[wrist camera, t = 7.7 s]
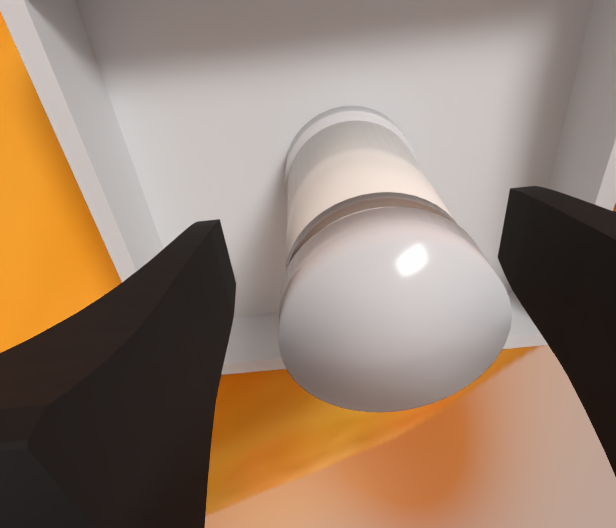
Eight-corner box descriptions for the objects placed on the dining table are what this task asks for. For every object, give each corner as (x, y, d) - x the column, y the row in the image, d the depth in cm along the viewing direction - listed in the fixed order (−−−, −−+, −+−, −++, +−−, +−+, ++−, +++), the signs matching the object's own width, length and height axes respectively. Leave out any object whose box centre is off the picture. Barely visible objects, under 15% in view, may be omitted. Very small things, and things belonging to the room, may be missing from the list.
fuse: (412, 98, 13) (533, 229, 6) (408, 218, 15) (493, 402, 9) (277, 113, 13) (260, 256, 7) (293, 230, 16) (293, 420, 9)
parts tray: (632, -114, 11) (732, -139, 8) (530, 292, 18) (567, 343, 16) (47, -37, 11) (-22, -39, 9) (182, 326, 19) (165, 380, 16)
